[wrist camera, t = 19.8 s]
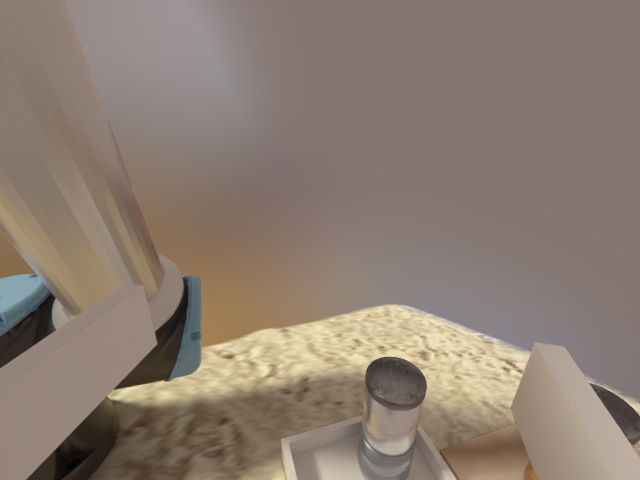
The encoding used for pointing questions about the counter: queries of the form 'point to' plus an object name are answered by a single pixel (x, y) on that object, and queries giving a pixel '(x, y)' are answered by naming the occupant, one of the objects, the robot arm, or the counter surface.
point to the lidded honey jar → (620, 411)
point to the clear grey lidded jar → (390, 418)
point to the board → (489, 456)
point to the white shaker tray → (350, 454)
